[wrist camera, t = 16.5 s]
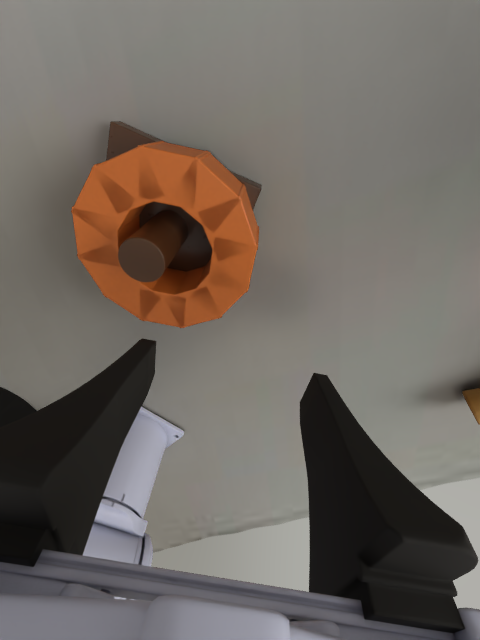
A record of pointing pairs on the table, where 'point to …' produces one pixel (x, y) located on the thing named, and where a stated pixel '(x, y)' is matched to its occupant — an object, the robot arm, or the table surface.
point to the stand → (162, 223)
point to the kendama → (473, 402)
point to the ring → (178, 190)
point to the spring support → (12, 408)
